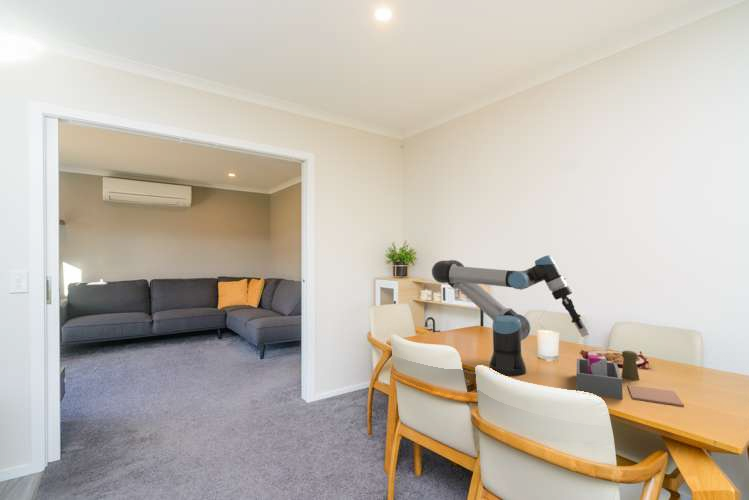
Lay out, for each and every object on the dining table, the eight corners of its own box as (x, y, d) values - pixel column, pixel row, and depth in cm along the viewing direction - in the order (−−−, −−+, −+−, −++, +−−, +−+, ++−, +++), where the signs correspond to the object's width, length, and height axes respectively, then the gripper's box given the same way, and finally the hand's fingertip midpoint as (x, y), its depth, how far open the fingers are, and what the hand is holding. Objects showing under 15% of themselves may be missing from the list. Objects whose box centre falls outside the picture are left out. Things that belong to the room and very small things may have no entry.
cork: (642, 380, 144) (641, 353, 144) (625, 379, 145) (624, 352, 145) (634, 375, 150) (633, 349, 150) (618, 375, 151) (617, 349, 151)
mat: (632, 398, 126) (632, 397, 126) (627, 386, 138) (627, 384, 138) (683, 406, 119) (683, 404, 119) (674, 392, 131) (674, 391, 131)
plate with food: (581, 353, 188) (580, 346, 188) (642, 357, 177) (641, 350, 177) (587, 367, 166) (586, 359, 166) (657, 372, 155) (657, 364, 155)
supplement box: (605, 384, 140) (604, 355, 140) (607, 389, 135) (607, 359, 135) (588, 382, 142) (587, 353, 143) (590, 387, 137) (589, 357, 137)
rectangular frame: (576, 392, 132) (576, 373, 133) (577, 375, 152) (576, 358, 152) (622, 399, 125) (622, 379, 126) (616, 380, 145) (616, 362, 145)
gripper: (567, 285, 146) (595, 334, 140) (567, 285, 168) (592, 327, 162) (549, 292, 149) (576, 341, 143) (552, 291, 171) (575, 333, 165)
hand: (584, 334), depth 153 cm, fingers open, 13 cm apart
